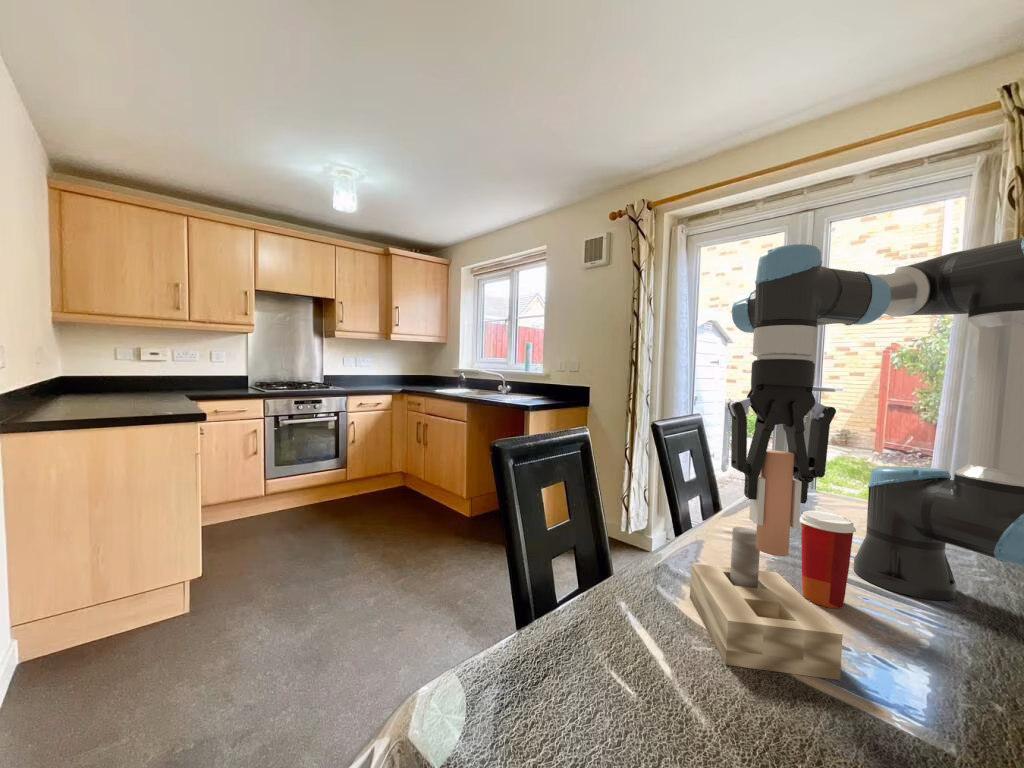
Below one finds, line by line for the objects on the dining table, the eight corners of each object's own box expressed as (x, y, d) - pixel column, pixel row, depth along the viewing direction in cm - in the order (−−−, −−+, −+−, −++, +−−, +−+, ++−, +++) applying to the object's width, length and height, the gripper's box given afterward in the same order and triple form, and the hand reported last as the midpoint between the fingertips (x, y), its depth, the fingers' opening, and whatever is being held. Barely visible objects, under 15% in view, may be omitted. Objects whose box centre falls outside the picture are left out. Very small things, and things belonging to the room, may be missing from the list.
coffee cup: (840, 593, 79) (845, 513, 79) (860, 616, 71) (865, 527, 71) (788, 584, 82) (792, 507, 82) (802, 605, 74) (806, 519, 74)
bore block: (775, 607, 73) (779, 526, 73) (840, 680, 55) (846, 573, 55) (689, 597, 75) (693, 518, 75) (725, 664, 57) (731, 561, 57)
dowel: (794, 557, 58) (800, 455, 58) (762, 554, 59) (768, 453, 59) (780, 546, 62) (785, 451, 62) (751, 543, 63) (756, 449, 63)
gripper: (832, 362, 63) (823, 520, 63) (710, 358, 65) (702, 510, 65) (867, 360, 55) (857, 539, 55) (728, 355, 58) (719, 526, 58)
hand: (773, 523), depth 60 cm, fingers closed on dowel, 4 cm apart
